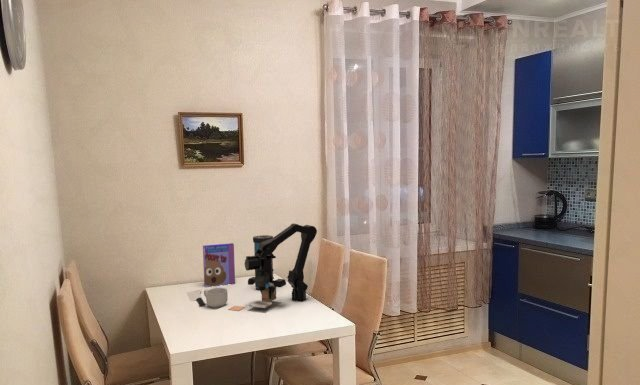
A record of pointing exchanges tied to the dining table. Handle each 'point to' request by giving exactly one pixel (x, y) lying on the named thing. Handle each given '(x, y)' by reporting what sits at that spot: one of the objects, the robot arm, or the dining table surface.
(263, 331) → the dining table surface
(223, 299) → the teacup
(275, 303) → the mat
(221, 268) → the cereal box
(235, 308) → the tile
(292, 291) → the robot arm
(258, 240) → the advertising column
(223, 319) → the dining table surface
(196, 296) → the kitchen cleaver
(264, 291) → the turner
